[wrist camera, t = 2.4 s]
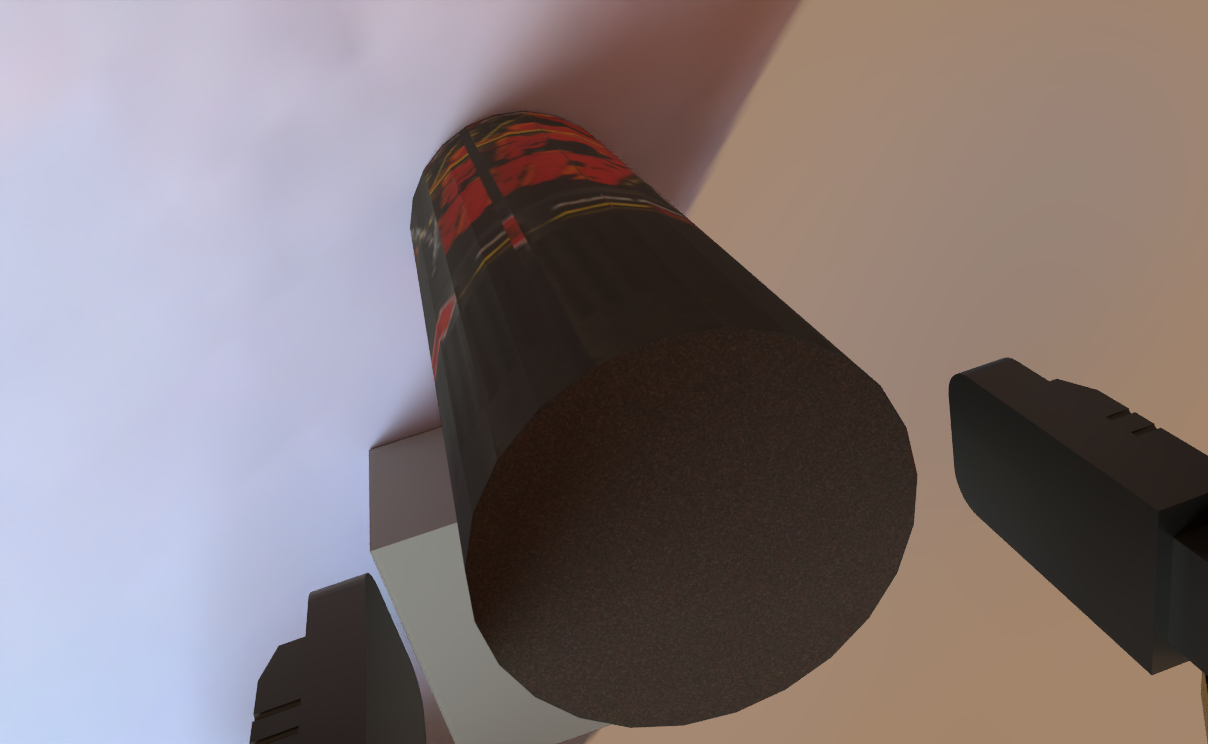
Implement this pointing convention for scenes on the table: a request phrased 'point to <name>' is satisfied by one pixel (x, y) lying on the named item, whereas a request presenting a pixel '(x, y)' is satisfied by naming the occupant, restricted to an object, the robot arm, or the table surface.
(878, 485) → the deodorant
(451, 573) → the grey block
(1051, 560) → the robot arm
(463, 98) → the table surface
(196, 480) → the table surface
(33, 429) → the table surface
